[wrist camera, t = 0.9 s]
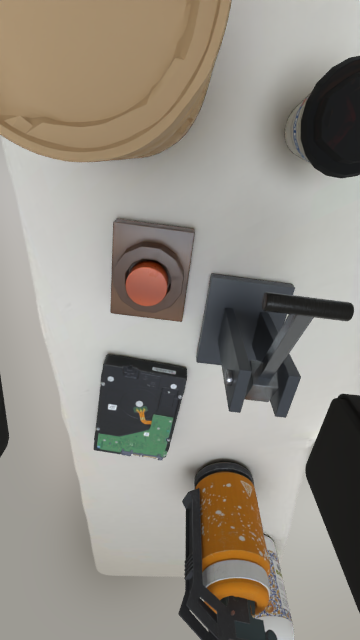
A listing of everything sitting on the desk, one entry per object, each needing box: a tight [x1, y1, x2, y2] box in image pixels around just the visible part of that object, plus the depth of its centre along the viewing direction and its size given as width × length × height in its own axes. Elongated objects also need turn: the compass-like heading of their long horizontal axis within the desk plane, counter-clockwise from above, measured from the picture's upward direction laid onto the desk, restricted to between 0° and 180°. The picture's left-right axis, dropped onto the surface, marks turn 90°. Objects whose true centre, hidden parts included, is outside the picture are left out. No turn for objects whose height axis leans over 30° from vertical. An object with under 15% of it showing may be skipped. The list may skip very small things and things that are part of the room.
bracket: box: [196, 274, 301, 417], centre depth 32 cm, size 11×9×13 cm
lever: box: [244, 292, 354, 402], centre depth 25 cm, size 12×6×2 cm, turn 173°
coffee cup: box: [285, 56, 360, 178], centre depth 25 cm, size 7×7×10 cm
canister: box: [179, 462, 277, 640], centre depth 42 cm, size 9×11×20 cm
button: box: [125, 261, 168, 306], centre depth 32 cm, size 4×4×2 cm
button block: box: [111, 219, 195, 322], centre depth 34 cm, size 10×8×4 cm
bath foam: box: [252, 536, 294, 640], centre depth 50 cm, size 7×7×20 cm
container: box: [0, 0, 232, 162], centre depth 19 cm, size 13×13×18 cm
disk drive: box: [94, 354, 187, 460], centre depth 43 cm, size 10×3×15 cm
